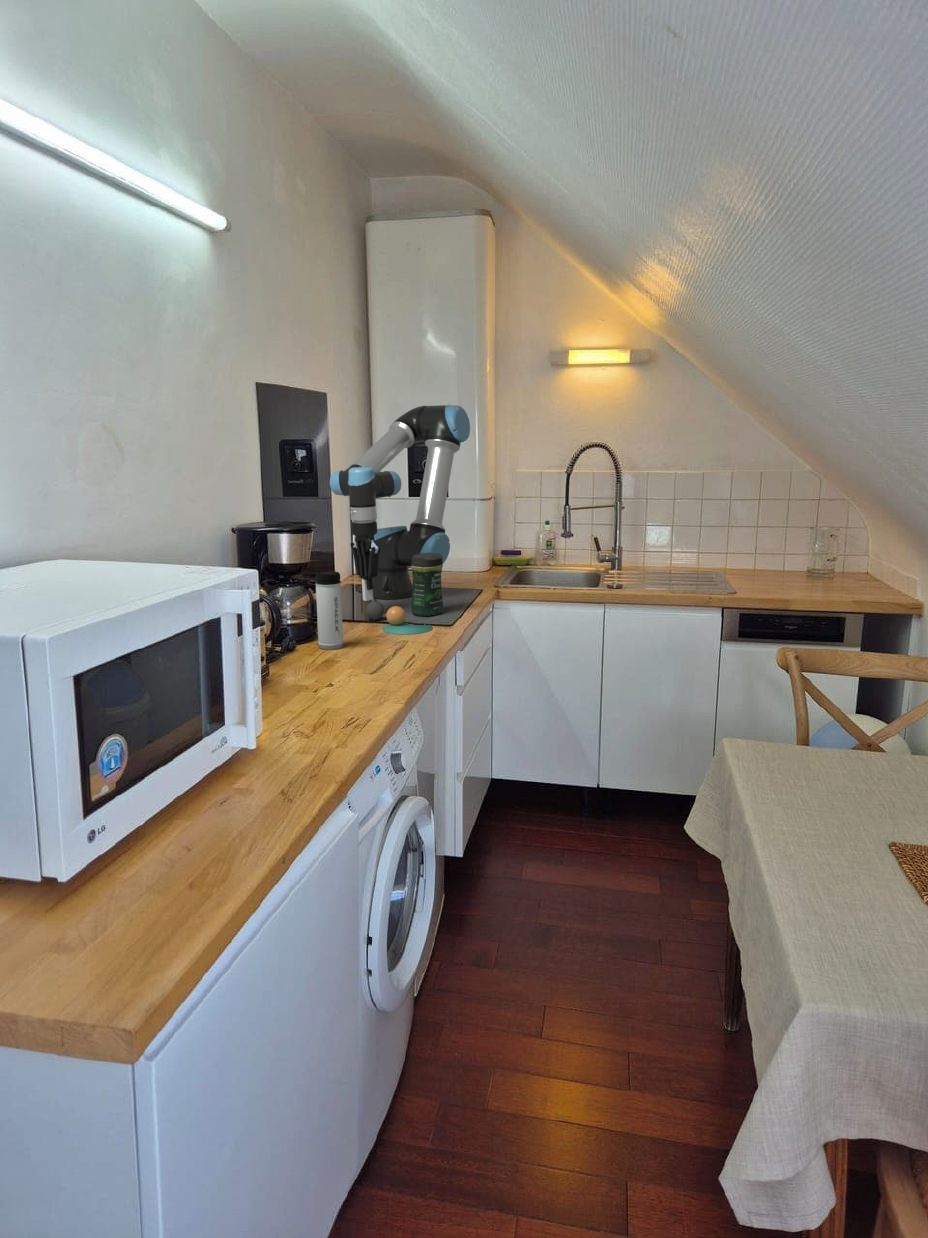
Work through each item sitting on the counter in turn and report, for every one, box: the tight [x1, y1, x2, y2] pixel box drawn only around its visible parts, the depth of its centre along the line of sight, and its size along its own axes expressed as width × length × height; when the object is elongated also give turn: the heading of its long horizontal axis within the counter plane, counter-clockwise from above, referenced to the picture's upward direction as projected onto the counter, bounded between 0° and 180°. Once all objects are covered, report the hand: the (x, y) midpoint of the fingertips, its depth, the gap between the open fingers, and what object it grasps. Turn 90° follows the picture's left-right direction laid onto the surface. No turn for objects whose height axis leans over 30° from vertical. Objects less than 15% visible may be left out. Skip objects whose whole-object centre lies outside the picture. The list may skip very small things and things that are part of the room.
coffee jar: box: [410, 553, 444, 617], centre depth 247 cm, size 10×8×19 cm
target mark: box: [381, 623, 433, 635], centre depth 231 cm, size 14×14×1 cm
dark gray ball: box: [365, 600, 385, 621], centre depth 241 cm, size 6×6×6 cm
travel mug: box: [313, 569, 344, 651], centre depth 209 cm, size 6×7×20 cm
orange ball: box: [385, 605, 407, 625], centre depth 234 cm, size 6×6×6 cm
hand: (368, 599), depth 246 cm, fingers closed
